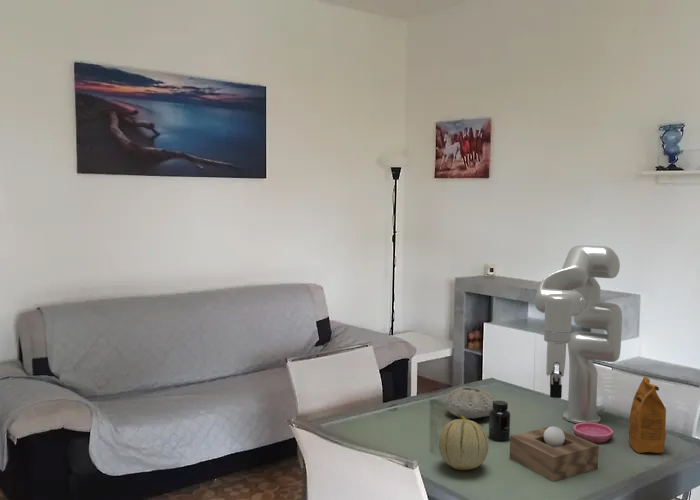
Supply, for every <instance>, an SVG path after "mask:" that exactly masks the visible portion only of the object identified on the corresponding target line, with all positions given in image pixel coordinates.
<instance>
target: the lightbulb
mask: <svg viewBox="0 0 700 500" xmlns="http://www.w3.org/2000/svg"><path fill="white" fill-rule="evenodd" d="M551 426H552V427H551ZM551 426H548V427H549V428H547V429H546V430H545V432H544V440H545V443H546V444H547V445H549V446H551V447H553V448H555V447H559V446H562V445H563V443H564V440H565V435H564V433H563V431H562V430H563V429H562V428H560V427H558V426H555V425H551ZM561 429H562V430H561Z"/></svg>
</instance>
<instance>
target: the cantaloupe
mask: <svg viewBox="0 0 700 500" xmlns="http://www.w3.org/2000/svg"><path fill="white" fill-rule="evenodd" d="M458 418H459V419H458ZM458 418H457V419H452V420H451V421H450V420H449V422H447V423H446V424H445V425H444V427H443V428H442V429H441V432H440V434H439V438H438V451H439V454H440V456H441V458H442V459H443V461H444V462H445V463H446V464H448V465H449V466H450V467H452V468H453V469H455V470H459V471H467V470H473V469H476V468H478V467H480V466H481V465H482V464H483V463H484V461H485V460H486V458H487V455H488V452H489V439H488V436H487V433H486V432H485V430H484V428H483V427H482V426H481V425H480V424H478V423H477V422H475V421H473V420H470V419H466V418H465V417H463V416H462V415H460V416H459V417H458Z"/></svg>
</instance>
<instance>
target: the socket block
mask: <svg viewBox="0 0 700 500" xmlns="http://www.w3.org/2000/svg"><path fill="white" fill-rule="evenodd" d="M552 426H553V425H551V426H548V427H543V428H539V429H533V430H530V431H525V432H522V433H518V434H517V433H516V434H512V435H510V438H509V459H511V460H513V461H514V462H516V463H518V464H520V465H522V466H523V467H526V468H527V469H530V470H531V471H533V472H535V473H537V474H538V475H541V476H542V477H545V478H546V479H548V480H550V481H552V482H556V481H558V480H562V479H565V478H566V479H567V478H569V477H573V476H576V474H577V475H580V473H581V474H584V473H586V472H587V471H588V472H590V470H591V471H594V470H593V469H595V470H597V469H596V468H598V469H599V457H600V456H599V452H600V445H598V443H597V444H596V443H594V442H590V441H587V440H585V439H583V438H580V437H578V435H576V434H573V433H572V432H568V430H567V431H566V430H564V429H562V428H560V429H561V430H562V431H563V433H564V435H565V440H564V443H563V445H562V446H559V447H555V448H553V447H551V446H549V445H547V444H546V443H545V440H544V432H545V430H546V429H547V428H549V427H552ZM583 472H584V473H583ZM588 472H587V473H588Z"/></svg>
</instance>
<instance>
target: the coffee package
mask: <svg viewBox="0 0 700 500" xmlns="http://www.w3.org/2000/svg"><path fill="white" fill-rule="evenodd" d="M650 380H651V379H650V378H649V377H648V376H643V377H642V380H641V382H640V384H639V386H638V388H637V390H636V392H635V395H634V397H633V400H632V405H631V408H630V413H629V418H628V419H629V420H628V421H629V422H628V425H629V426H628V427H629V428H628V442H629V445H630V447H631V449H632V450H634V451H635V452H636V453H639V454H642V453H643V454H644V453H654V454H659V453H664V452H665V442H666V438H667V437H666V436H667V432H666V427H667V426H666V425H667V424H666V423H667V422H666V417H667V409H666V407H665V405H664V403H663V401H662V399H661V398H660V396H659V395H658V392H659V391H660V387H659V386H658V385H655V384H652V383H651V381H650Z"/></svg>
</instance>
